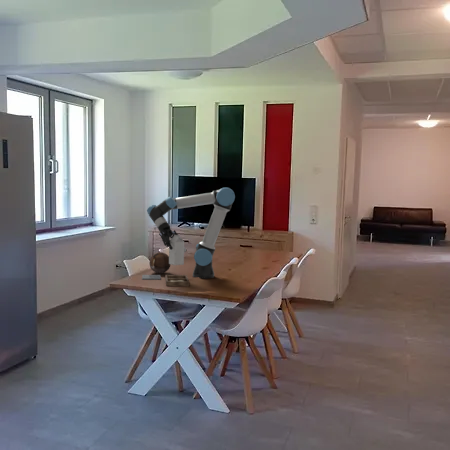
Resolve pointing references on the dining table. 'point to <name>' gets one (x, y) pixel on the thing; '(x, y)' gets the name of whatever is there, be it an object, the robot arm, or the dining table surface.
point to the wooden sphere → (159, 262)
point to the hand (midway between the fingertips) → (180, 252)
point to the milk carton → (179, 255)
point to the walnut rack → (171, 281)
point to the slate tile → (151, 277)
